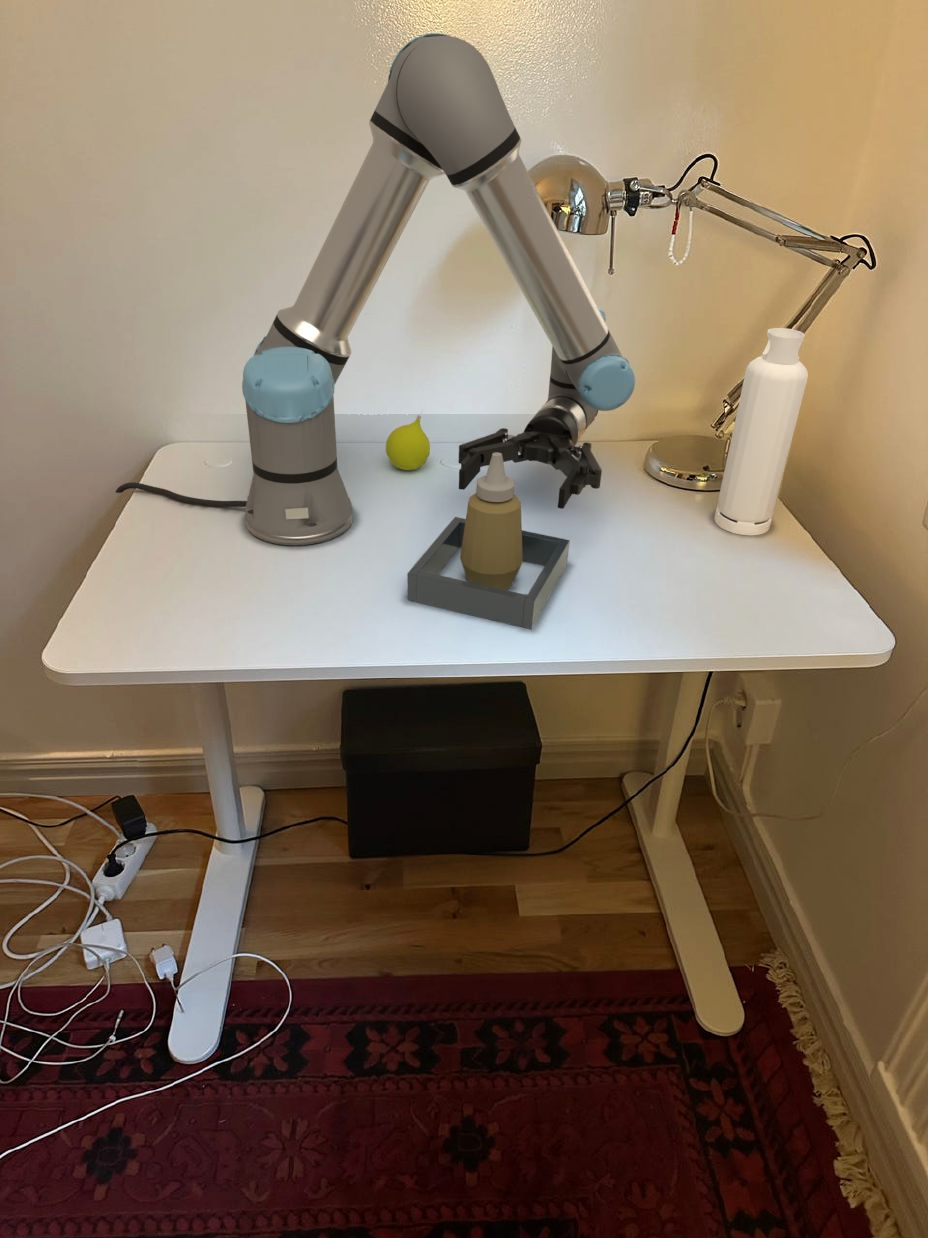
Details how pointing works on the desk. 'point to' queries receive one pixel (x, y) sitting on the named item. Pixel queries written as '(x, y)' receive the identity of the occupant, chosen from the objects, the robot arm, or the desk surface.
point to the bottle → (762, 434)
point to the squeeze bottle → (493, 530)
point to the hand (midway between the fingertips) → (510, 489)
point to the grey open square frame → (479, 597)
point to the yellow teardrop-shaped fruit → (408, 446)
